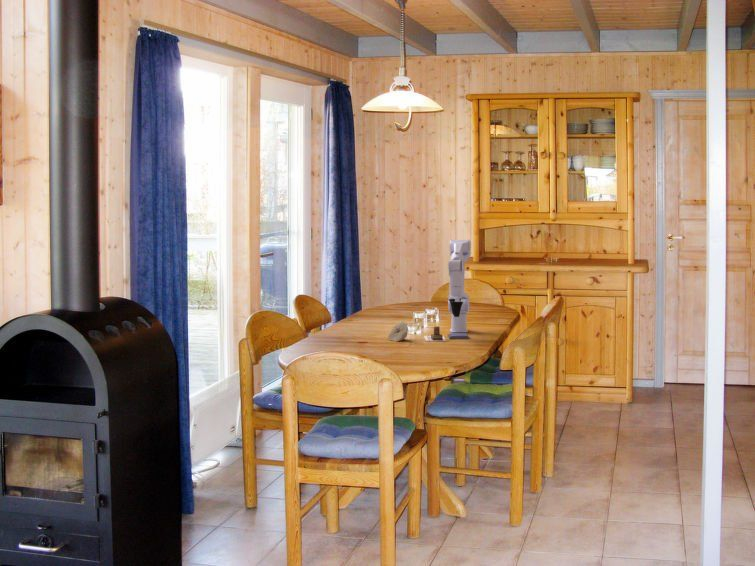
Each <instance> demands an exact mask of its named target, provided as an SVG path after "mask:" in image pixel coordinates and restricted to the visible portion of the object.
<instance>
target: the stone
mask: <svg viewBox="0 0 755 566" xmlns="http://www.w3.org/2000/svg"><path fill="white" fill-rule="evenodd" d="M408 332H409V327H408V324H407V322H406V321H401V322H399V323H397V324H395V325H393V327H392V328H391V330H390V332H389V333H388V336H387V339H388V340H389V341H391V342H392V341H393V342H399V341H400V342H401V341H404V340H405V339H406V338H407V337H408Z"/></svg>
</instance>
